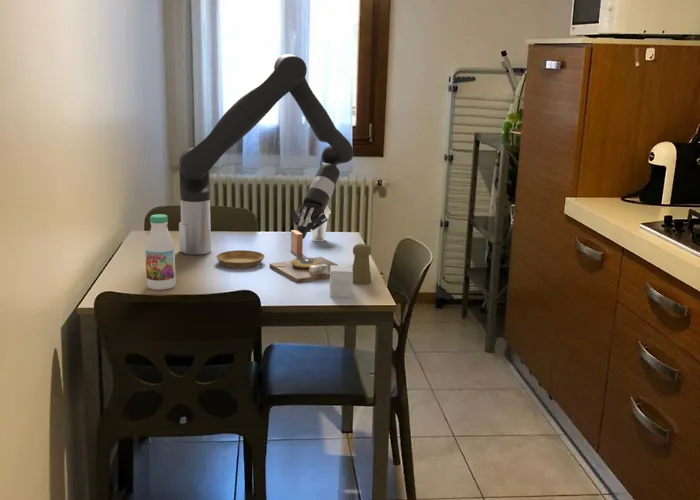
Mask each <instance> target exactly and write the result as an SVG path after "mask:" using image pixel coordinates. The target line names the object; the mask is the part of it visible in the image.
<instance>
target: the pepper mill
mask: <svg viewBox="0 0 700 500" xmlns="http://www.w3.org/2000/svg"><path fill="white" fill-rule="evenodd" d="M352 253H353V256H354V258H353V264H352V270H353V285H359V286H362V285H370V284H371V283H372V275H371V274H372V273H371V266H370V256H371V253H372V249H371V246H370V245H369V244H365V243H357V244H355V245H354V246H353V248H352Z"/></svg>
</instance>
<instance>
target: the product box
mask: <svg viewBox="0 0 700 500" xmlns="http://www.w3.org/2000/svg"><path fill="white" fill-rule="evenodd" d="M353 285H354V284H353V265H343V264H341V265H339V264H337V265H331V266H330V278H329V292H330V297H331V298H353Z"/></svg>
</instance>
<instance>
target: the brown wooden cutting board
mask: <svg viewBox="0 0 700 500" xmlns="http://www.w3.org/2000/svg"><path fill="white" fill-rule="evenodd" d="M313 258H314V259H317V260H318V261H319V265H312V266H309V268H297V267H294V266H292V260H286V261H278V262H272V263H271V262H270V263H269V268H270V269H272V270H274V271H275V272H277V273H278V274H281V275H283V276H284V277H286V278H288V279H290V280H292V281H293V282H295V283H297V284H301V283H305V282H311V281H312V282H314V281H320V280H325V279H330V266H331V265H338V264H337V263H336V262H334V261H331V260H329V259H326V258H325V257H323V256H318V257H317V256H316V257H315V256H314V257H313Z"/></svg>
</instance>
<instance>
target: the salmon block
mask: <svg viewBox="0 0 700 500" xmlns="http://www.w3.org/2000/svg"><path fill="white" fill-rule="evenodd" d="M303 240H304V239H303V234H302V233H300V232H299V231H297V229H293V230H292V229H291V230H290V254H292V255H293V256H294V257H295V258H293V259H292V260H291V261H292V266H294V267H297V268H309V266H312V265H319V261H318V260H317V259H314V258H315V257H307V256H306V255H304V253H303V247H304V245H303V243H304V242H303Z"/></svg>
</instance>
